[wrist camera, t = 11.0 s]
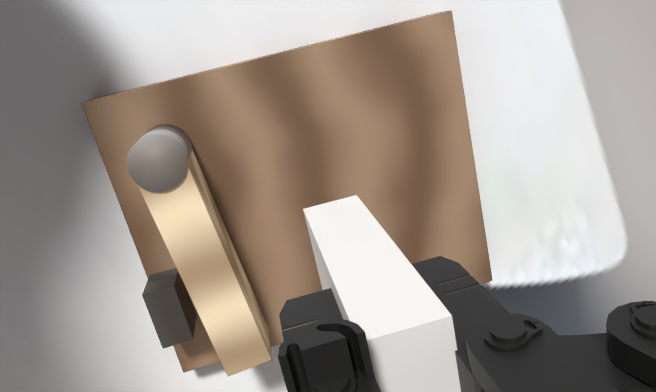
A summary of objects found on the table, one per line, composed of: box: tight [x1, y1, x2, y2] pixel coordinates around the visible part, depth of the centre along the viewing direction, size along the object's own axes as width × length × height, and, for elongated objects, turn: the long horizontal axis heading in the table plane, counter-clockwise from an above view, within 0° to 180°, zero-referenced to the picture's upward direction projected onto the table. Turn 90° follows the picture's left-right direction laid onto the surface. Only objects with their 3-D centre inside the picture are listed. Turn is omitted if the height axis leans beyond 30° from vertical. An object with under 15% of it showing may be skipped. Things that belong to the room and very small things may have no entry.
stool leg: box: [127, 124, 272, 376], centre depth 34 cm, size 16×3×4 cm, turn 19°
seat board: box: [82, 11, 492, 372], centre depth 36 cm, size 24×20×5 cm
